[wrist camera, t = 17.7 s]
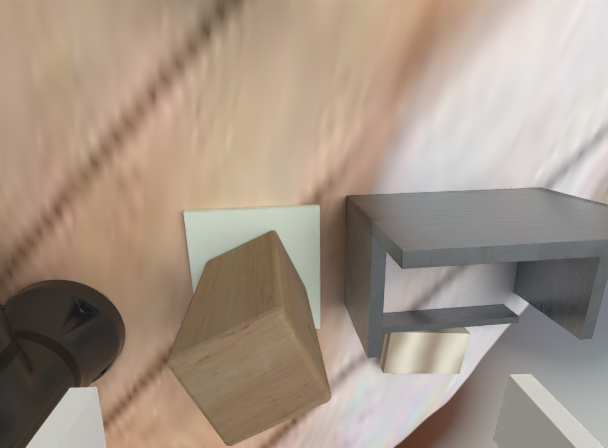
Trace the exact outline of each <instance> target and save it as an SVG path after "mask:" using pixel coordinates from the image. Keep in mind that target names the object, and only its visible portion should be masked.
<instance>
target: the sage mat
mask: <svg viewBox="0 0 608 448" xmlns="http://www.w3.org/2000/svg"><path fill="white" fill-rule="evenodd" d="M183 213H184V221H185V230H186V238H187V246H188V254H189V262H190V270H191V278H192V287H193V295H194V292H195V290H196V287H197V285H198V282H199V280H200V277H201V275H202V272H203V270H204V267H205V265H206V263H207V261H209V260H211V259H213V258H215V257H217V256H219V255H221V254H223V253H225V252H227V251H230V250H232V249H234V248H236V247H238V246H240V245H242V244H244V243H246V242H248V241H250V240H253V239H255V238H257V237H259V236H261V235H263V234H265V233H267V232H269V231H272V230H275V231H276V232H277V234H278V236H279V238H280V240H281V242H282V244H283V245H284V247H285V249H286V251H287V253H288V255H289V257H290V259H291V261H292V263H293V265H294V267H295V268H296V270H297V272H298V274H299V276H300V278H301V280H302V282H303V284H304V286H305V288H306V291H307V295H308V299H309V303H310V308H311V312H312V316H313V320H314V324H315V329H320V206H319V204H314V205H291V206H268V207H245V208H222V209H199V210H185V211H184V212H183Z"/></svg>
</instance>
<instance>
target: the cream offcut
mask: <svg viewBox="0 0 608 448" xmlns="http://www.w3.org/2000/svg"><path fill="white" fill-rule="evenodd" d="M469 336H470V333H469V332H468V331H467V330H466V329H465V328H464V327H458V328H445V329H433V330H420V331H408V332H395V333H386V334H385V339H384V344H383V349H382V355H381V360H380V367H381V369H382V371H383V373H447V374H459V373H460V369H461V366H462V362H463V358H464V355H465V351H466V347H467V343H468V340H469Z"/></svg>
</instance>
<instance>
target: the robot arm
mask: <svg viewBox="0 0 608 448" xmlns="http://www.w3.org/2000/svg"><path fill="white" fill-rule="evenodd" d="M124 340H125V329H124V324H123V321H122V318H121V316H120V314H119V312H118V311H117V309H116V308H115V306H114V305H113V304H112V303H111V302H110V301H109V300H108V299H107V298H106V297H105V296H104V295H102V294H101V293H99V292H98V291H96V290H94V289H92V288H90V287H88V286H86V285H83V284H80V283H77V282H72V281H66V280H49V281H43V282H39V283H36V284H33V285H31V286H28V287H26V288H25V289H23V290H22V291H20V292H19V293H17V294H16V295H15V296H13V297H12V298H11V299H9V300H8V301H7V302H6V303H5V304H4V305H3V306H1V304H0V448H107V446H106V440H105V434H104V428H103V421H102V415H101V409H100V403H99V397H98V391H97V387H88V386H89V385H90V384H91V383H93V382H94V381H96V380H97V379H99V378H100V377H102V376H103V375H104V374H105V373H106V372H107V371H108V370H109V369H110V368H111V366H112V365H113V364H114V362H115V360H116V359H117V357H118V356H119V354H120V352H121V350H122V348H123V345H124ZM493 439H494V441H495V442H496V443H497V445H498V447H499V448H604V447H603V446H602V445H601V444H600V443H599V442H598V441H597V440H596V439H595V438H594V437H593V436H592V435H591V434H590V433H589V432H588V431H587V430H586V429H585V428H584V427H583V426H582V425H581V424H580V423H579V422H578V421H577V420H576V419H575V418H574V417H573V416H572V415H571V414H570V413H569V412H568V411H567V410H566V409H565V408H564V407H563V406H562V405H561V404H560V403H559V402H558V401H557V400H556V399H555V398H554V397H553V396H552V395H551V394H550V393H549V392H548V391H547V390H546V389H545V388H544V387H543V386H542V385H541V384H540V383H539V382H538V381H537V380H536V379H535V378H534V377H533V376H532V375H531V374H516V375H509V378H508V382H507V386H506V390H505V395H504V399H503V402H502V406H501V410H500V414H499V418H498V422H497V426H496V430H495V434H494V438H493Z"/></svg>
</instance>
